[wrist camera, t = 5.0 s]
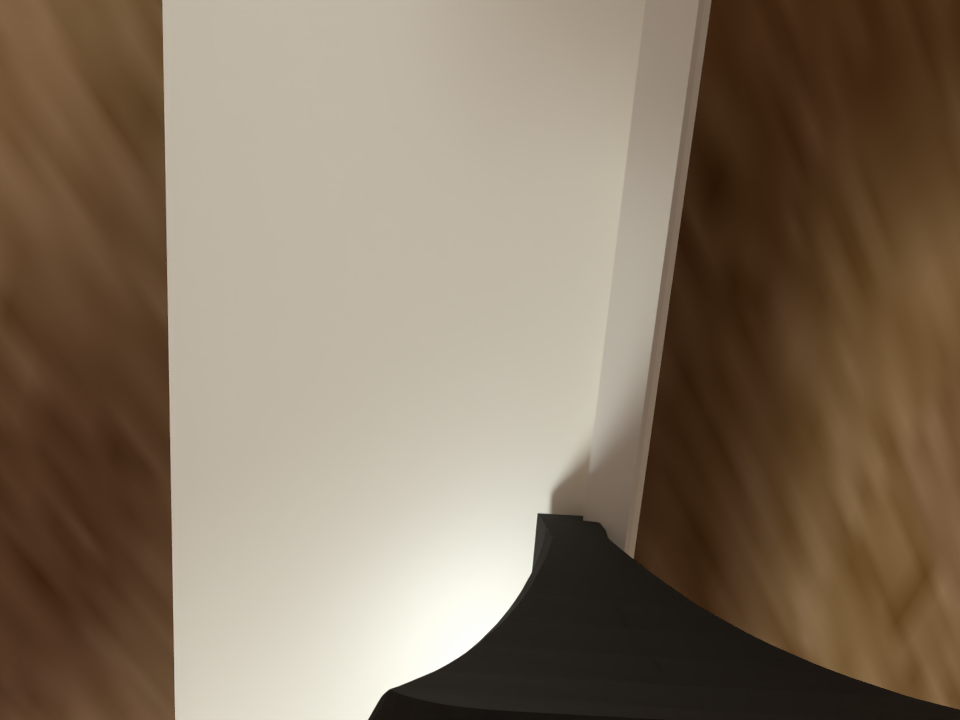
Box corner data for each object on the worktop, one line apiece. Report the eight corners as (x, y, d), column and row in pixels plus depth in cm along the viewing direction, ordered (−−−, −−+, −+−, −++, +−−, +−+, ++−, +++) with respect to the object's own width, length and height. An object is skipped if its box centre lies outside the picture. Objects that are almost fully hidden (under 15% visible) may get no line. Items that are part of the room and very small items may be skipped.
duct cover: (554, 1129, 15) (533, 1218, 14) (204, 962, 17) (160, 1024, 16) (712, -10, 10) (704, -38, 9) (197, -14, 13) (132, -36, 11)
